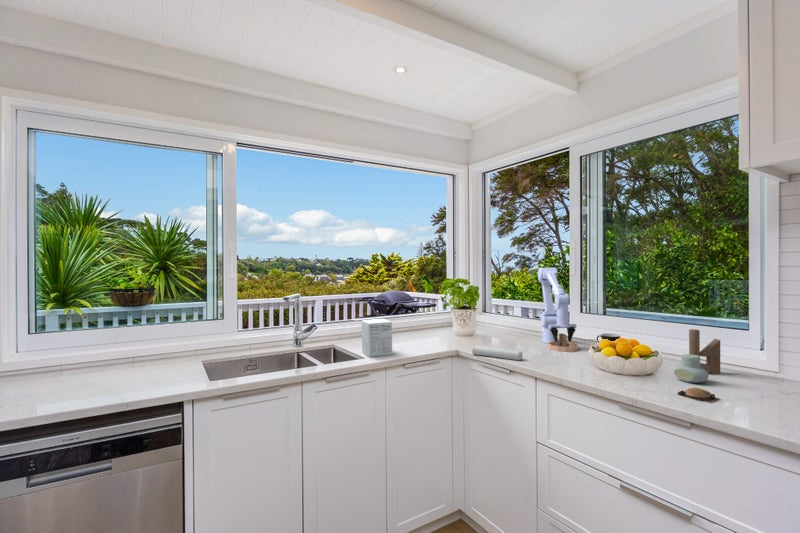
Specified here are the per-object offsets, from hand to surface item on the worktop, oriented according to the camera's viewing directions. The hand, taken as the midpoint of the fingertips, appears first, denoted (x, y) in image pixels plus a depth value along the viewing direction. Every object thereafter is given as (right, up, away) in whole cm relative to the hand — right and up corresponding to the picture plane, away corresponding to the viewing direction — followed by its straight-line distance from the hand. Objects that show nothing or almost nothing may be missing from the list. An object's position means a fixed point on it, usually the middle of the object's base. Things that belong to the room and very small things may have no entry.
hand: (562, 341), depth 214 cm
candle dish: (0, -4, 0) cm, 4 cm away
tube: (-40, -5, -17) cm, 43 cm away
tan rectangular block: (0, -3, 0) cm, 3 cm away
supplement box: (-101, -6, -4) cm, 101 cm away
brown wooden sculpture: (+39, -4, -49) cm, 63 cm away
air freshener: (+26, -4, -60) cm, 65 cm away
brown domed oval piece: (+15, -5, -77) cm, 79 cm away
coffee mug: (+18, -4, -14) cm, 23 cm away
